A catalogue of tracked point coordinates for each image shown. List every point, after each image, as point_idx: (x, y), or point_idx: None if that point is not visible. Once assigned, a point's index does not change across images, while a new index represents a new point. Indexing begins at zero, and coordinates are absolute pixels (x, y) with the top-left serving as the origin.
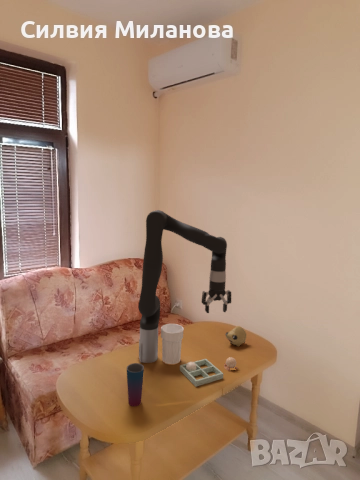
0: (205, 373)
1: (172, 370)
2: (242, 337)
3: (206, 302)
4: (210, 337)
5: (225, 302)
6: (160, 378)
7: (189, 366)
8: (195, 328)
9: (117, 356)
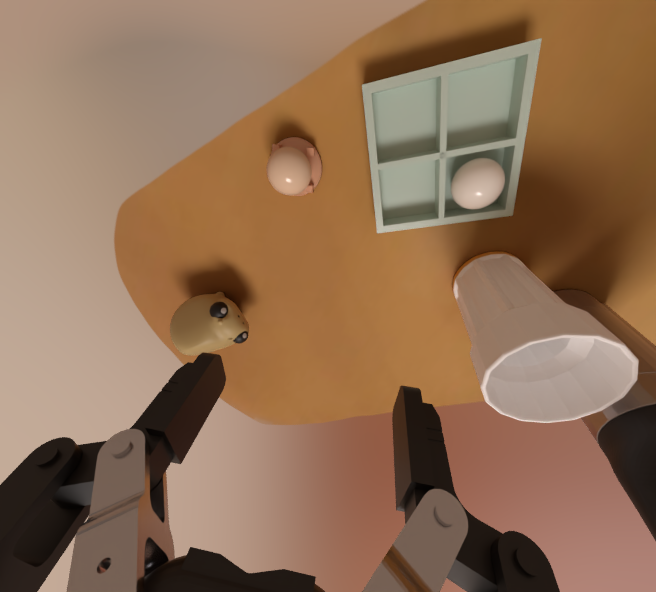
0: (446, 109)
1: (526, 221)
2: (191, 306)
3: (453, 567)
4: (290, 360)
5: (123, 475)
6: (618, 177)
7: (501, 172)
8: (314, 407)
9: None
